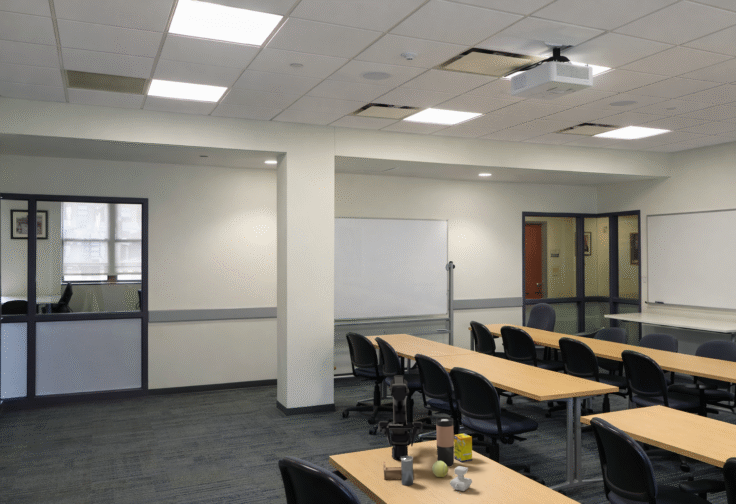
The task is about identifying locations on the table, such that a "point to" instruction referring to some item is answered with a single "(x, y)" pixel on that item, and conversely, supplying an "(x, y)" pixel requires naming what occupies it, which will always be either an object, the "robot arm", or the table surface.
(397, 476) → the holder
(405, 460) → the canister
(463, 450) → the supplement box
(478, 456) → the table surface
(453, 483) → the stamp
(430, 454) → the table surface
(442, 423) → the travel mug
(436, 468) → the tennis ball
